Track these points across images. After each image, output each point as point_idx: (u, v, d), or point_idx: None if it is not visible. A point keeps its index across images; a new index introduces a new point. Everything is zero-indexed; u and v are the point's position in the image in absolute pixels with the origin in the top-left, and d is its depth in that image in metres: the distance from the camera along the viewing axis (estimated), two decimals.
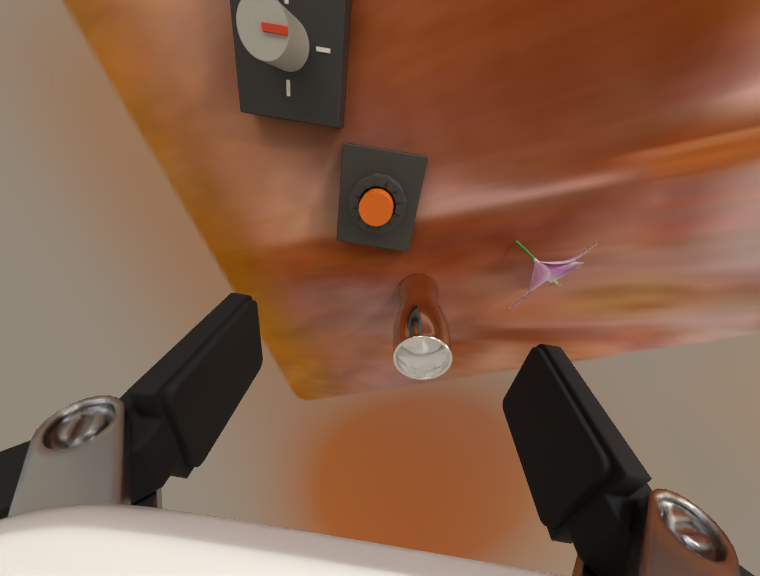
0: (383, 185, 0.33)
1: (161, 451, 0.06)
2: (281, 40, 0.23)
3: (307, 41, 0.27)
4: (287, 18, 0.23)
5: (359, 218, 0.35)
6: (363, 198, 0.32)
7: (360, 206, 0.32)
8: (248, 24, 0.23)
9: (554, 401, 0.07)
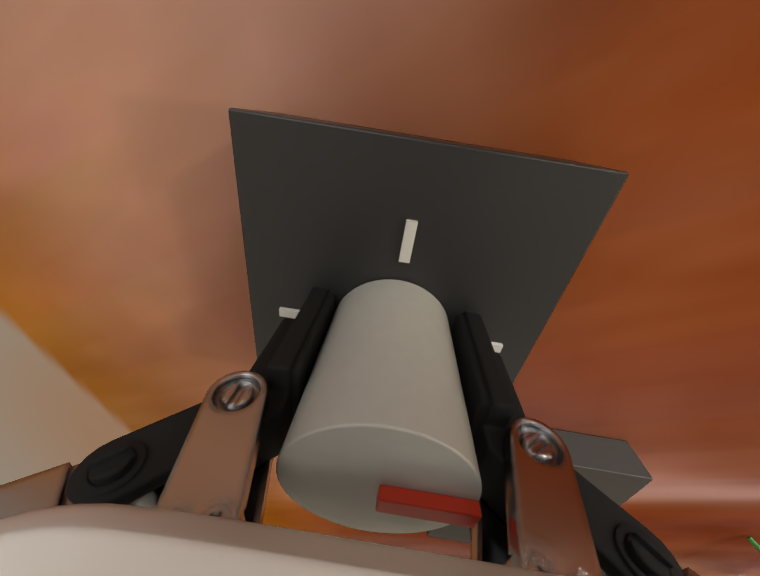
0: None
1: (285, 420, 0.07)
2: None
3: None
4: (479, 474, 0.06)
5: None
6: None
7: None
8: (324, 480, 0.06)
9: (463, 356, 0.08)
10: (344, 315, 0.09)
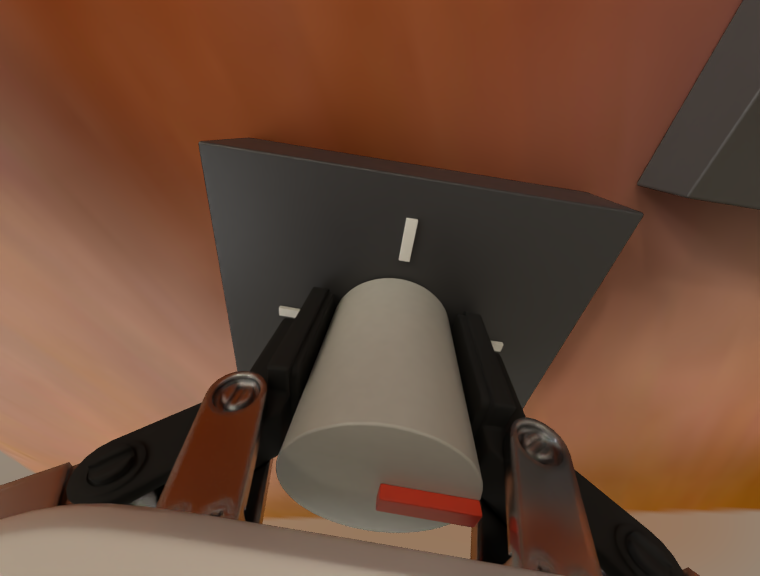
0: None
1: (285, 420, 0.07)
2: None
3: None
4: (480, 474, 0.06)
5: None
6: None
7: None
8: (323, 479, 0.06)
9: (463, 356, 0.08)
10: (344, 313, 0.09)
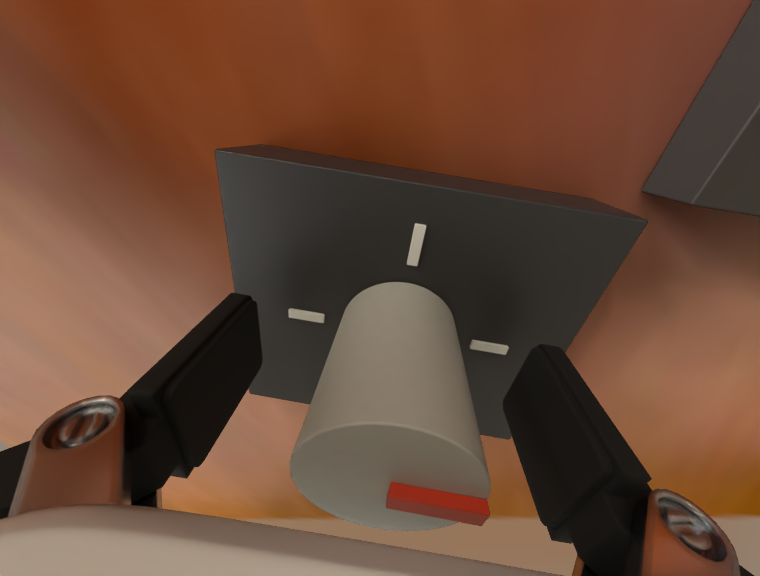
0: None
1: (161, 451, 0.06)
2: None
3: None
4: (488, 474, 0.06)
5: None
6: None
7: None
8: (335, 477, 0.06)
9: (554, 401, 0.07)
10: (354, 316, 0.09)
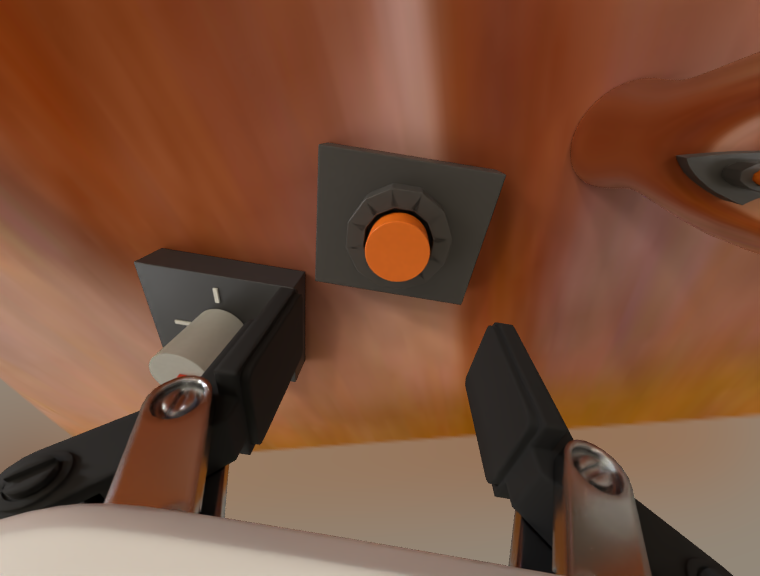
0: (361, 231, 0.18)
1: (237, 426, 0.07)
2: None
3: None
4: None
5: None
6: (377, 272, 0.18)
7: (391, 278, 0.18)
8: (163, 373, 0.20)
9: (500, 371, 0.08)
10: None
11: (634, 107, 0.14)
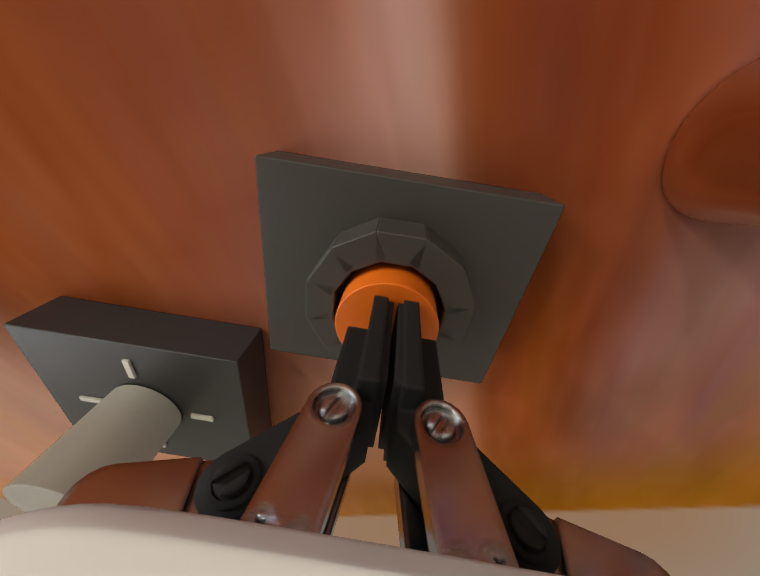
0: (328, 295, 0.11)
1: None
2: None
3: (172, 419, 0.17)
4: None
5: None
6: None
7: None
8: (30, 505, 0.13)
9: (394, 343, 0.09)
10: (89, 411, 0.16)
11: None
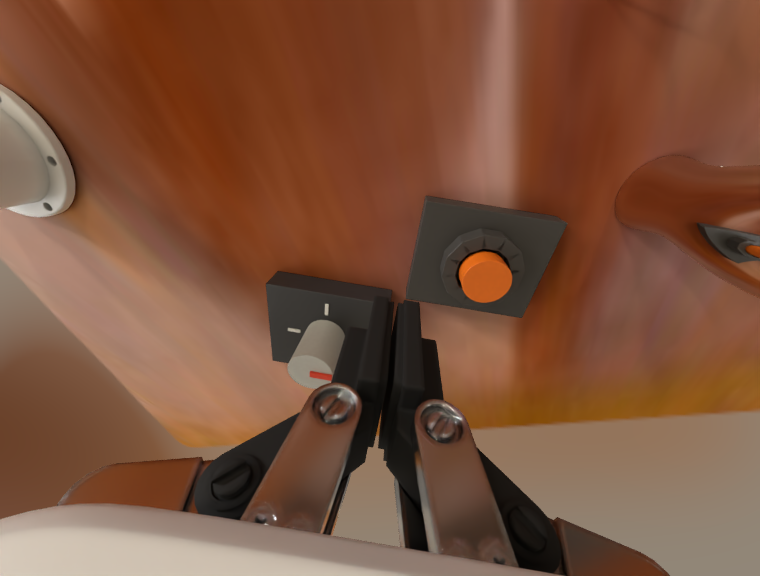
0: (456, 264, 0.24)
1: None
2: (325, 380, 0.27)
3: (343, 340, 0.31)
4: (331, 368, 0.26)
5: None
6: (469, 296, 0.24)
7: (479, 300, 0.24)
8: (298, 370, 0.27)
9: (394, 343, 0.09)
10: (307, 331, 0.29)
11: (668, 183, 0.20)
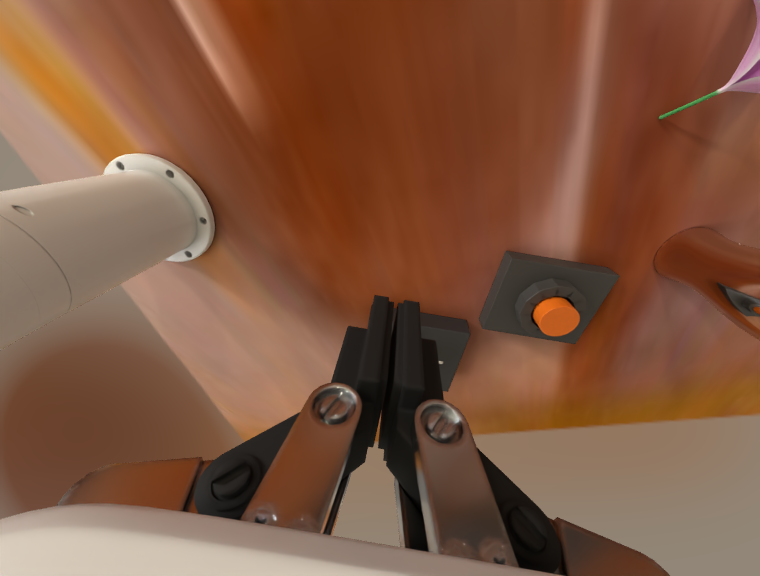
0: (532, 306, 0.31)
1: None
2: None
3: None
4: None
5: None
6: (543, 331, 0.31)
7: (551, 334, 0.31)
8: None
9: (394, 343, 0.09)
10: None
11: (700, 253, 0.27)
